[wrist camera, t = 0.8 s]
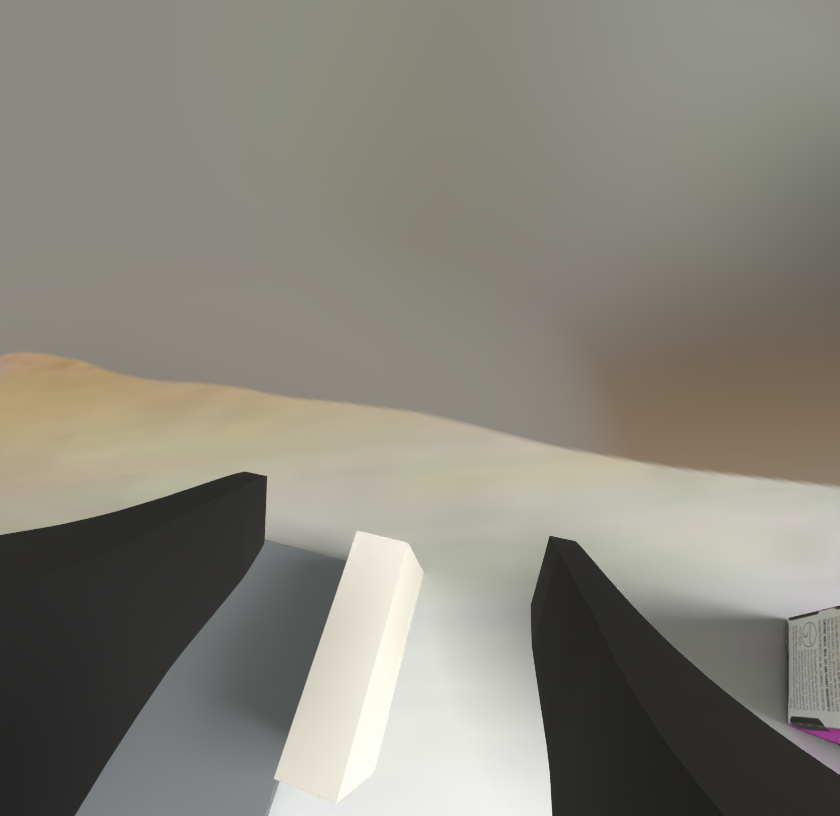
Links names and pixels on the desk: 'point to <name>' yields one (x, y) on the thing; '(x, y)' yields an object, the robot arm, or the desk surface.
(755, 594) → the desk surface
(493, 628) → the desk surface
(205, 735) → the mat
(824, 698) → the candy bar box
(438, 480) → the desk surface
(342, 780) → the block
